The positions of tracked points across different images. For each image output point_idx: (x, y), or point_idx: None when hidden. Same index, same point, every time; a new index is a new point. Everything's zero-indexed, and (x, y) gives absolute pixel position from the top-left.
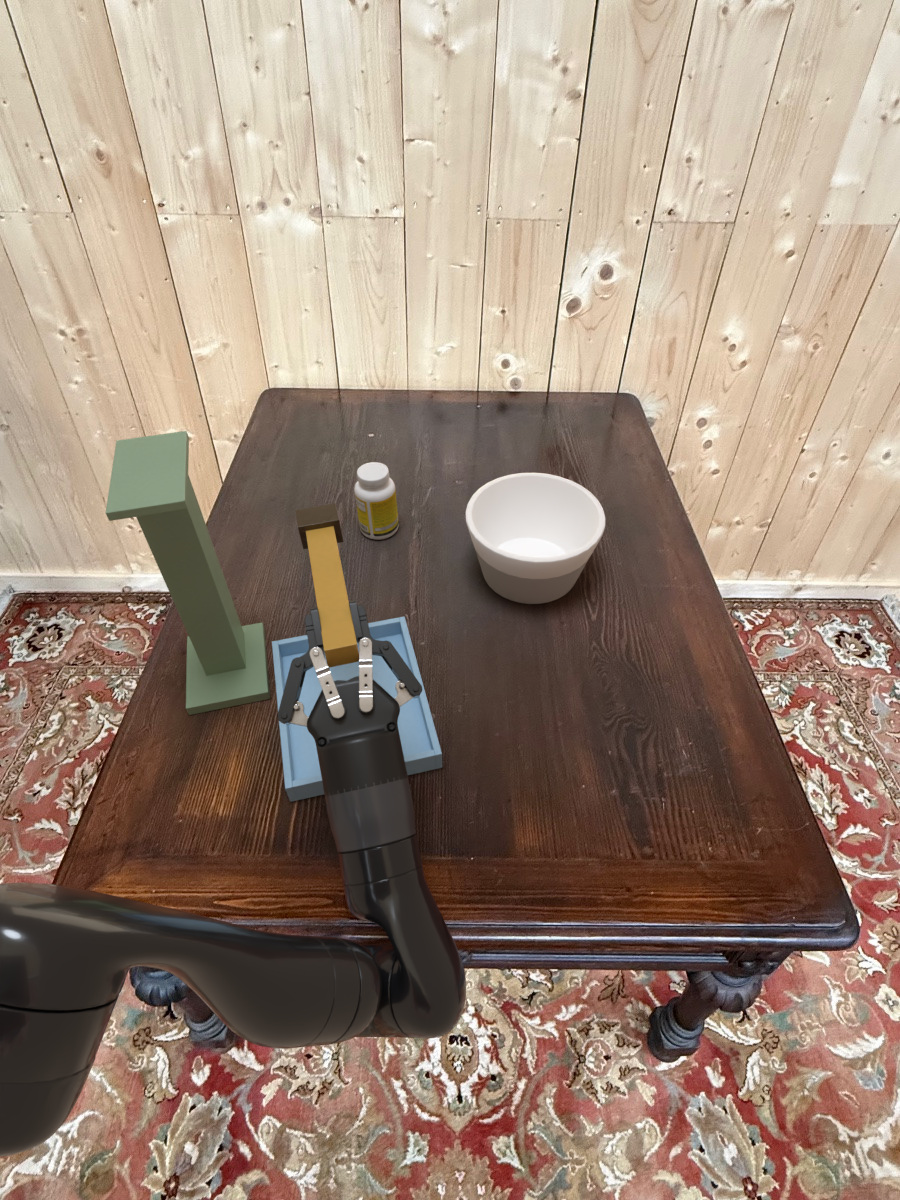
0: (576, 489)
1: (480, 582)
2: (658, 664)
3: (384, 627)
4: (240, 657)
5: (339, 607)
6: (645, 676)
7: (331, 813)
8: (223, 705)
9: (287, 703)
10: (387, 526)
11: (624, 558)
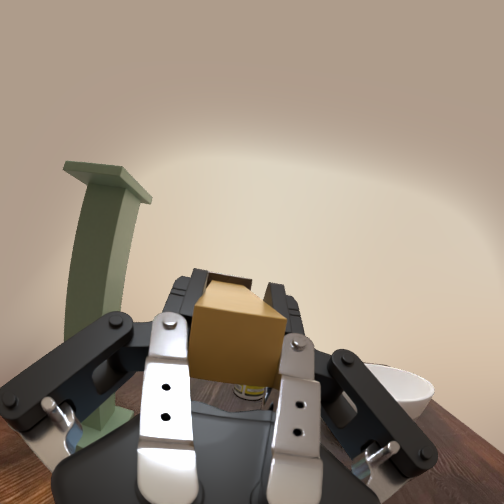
0: (403, 372)
1: (330, 436)
2: (474, 472)
3: None
4: (98, 417)
5: (245, 298)
6: (470, 481)
7: None
8: None
9: (35, 381)
10: (257, 389)
11: (424, 424)
